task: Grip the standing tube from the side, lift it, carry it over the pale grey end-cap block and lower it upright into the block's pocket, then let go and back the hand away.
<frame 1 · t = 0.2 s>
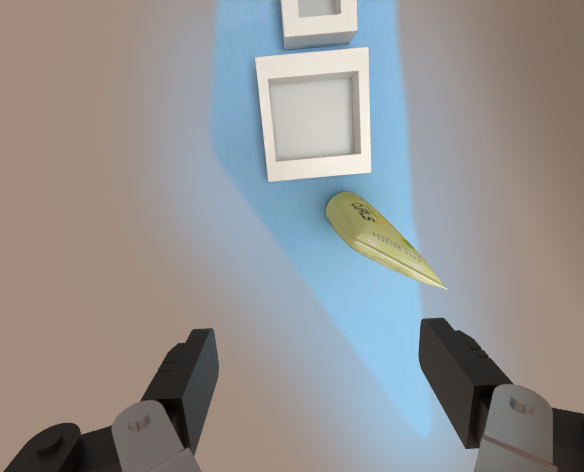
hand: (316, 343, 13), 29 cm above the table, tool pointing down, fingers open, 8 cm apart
tube: (346, 211, 41), on the table
endcap: (312, 120, 38), on the table
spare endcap: (314, 10, 35), on the table
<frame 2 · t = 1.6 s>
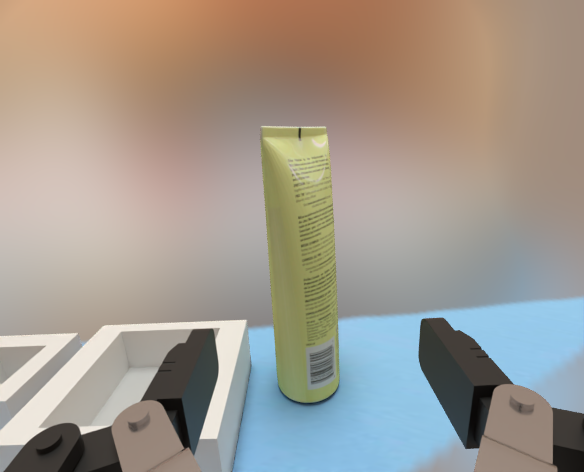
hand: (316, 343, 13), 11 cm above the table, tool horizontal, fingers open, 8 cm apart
tube: (310, 381, 27), on the table
endcap: (158, 420, 23), on the table
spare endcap: (17, 414, 24), on the table
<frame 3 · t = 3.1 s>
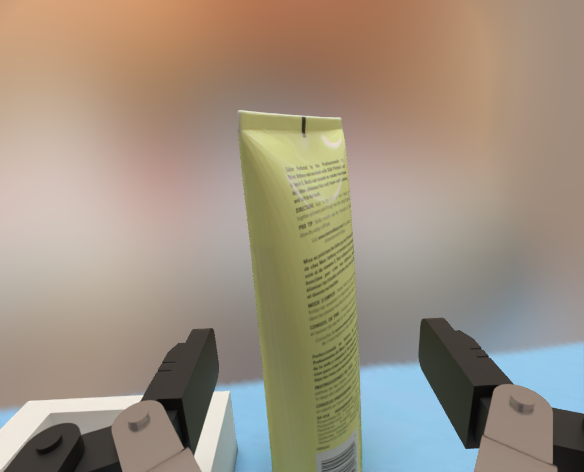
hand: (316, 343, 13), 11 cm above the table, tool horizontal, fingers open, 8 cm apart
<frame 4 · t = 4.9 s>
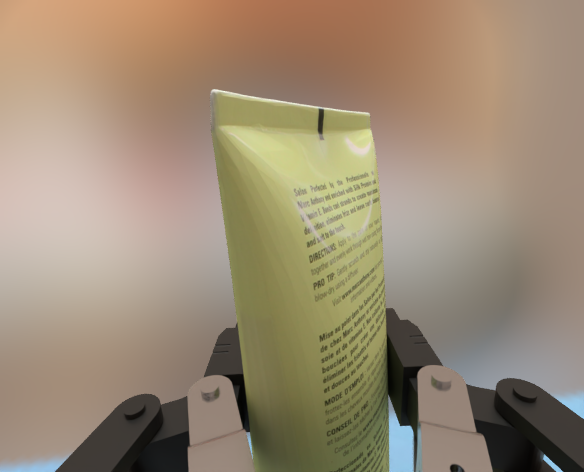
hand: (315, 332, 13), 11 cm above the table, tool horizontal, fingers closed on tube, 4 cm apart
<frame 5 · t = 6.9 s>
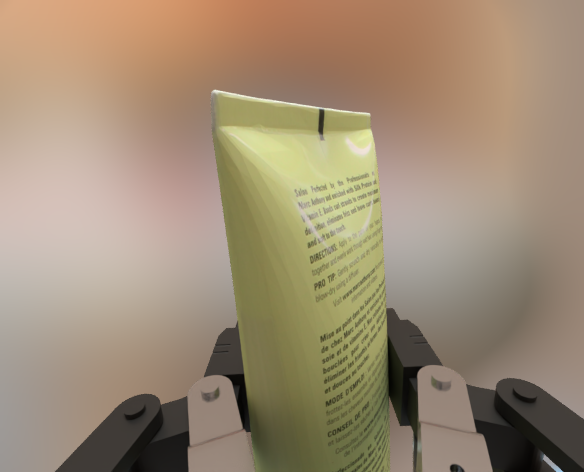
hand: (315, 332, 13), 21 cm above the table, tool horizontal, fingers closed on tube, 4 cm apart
when the fingers open (13 cm above the table, at t = 9.3 s): tube drops 1 cm, resting on endcap.
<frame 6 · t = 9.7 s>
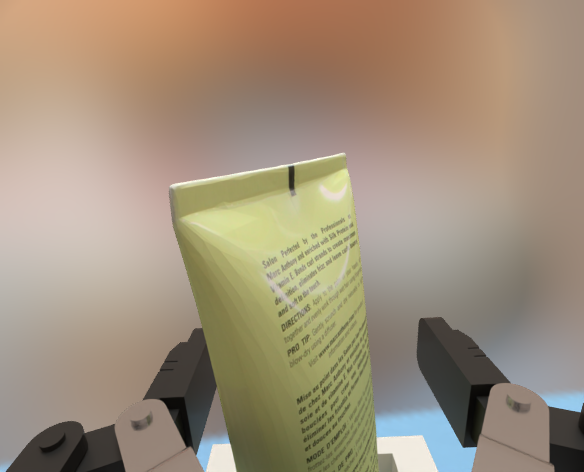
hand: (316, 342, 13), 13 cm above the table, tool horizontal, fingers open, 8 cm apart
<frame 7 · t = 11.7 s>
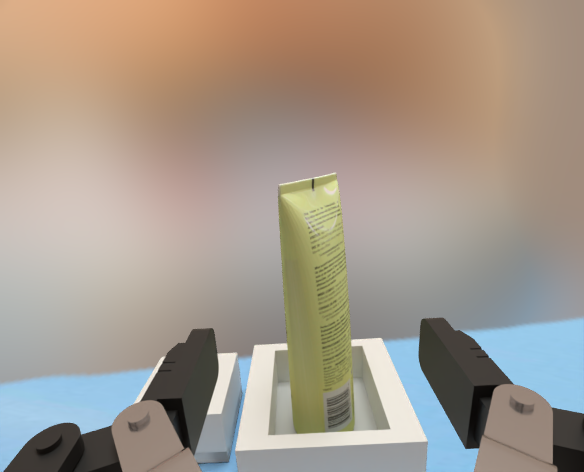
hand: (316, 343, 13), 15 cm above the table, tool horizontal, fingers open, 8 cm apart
tube: (325, 422, 27), point 1 cm above the table, touching endcap
endcap: (325, 428, 27), on the table
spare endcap: (195, 425, 28), on the table
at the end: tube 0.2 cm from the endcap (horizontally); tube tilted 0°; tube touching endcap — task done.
